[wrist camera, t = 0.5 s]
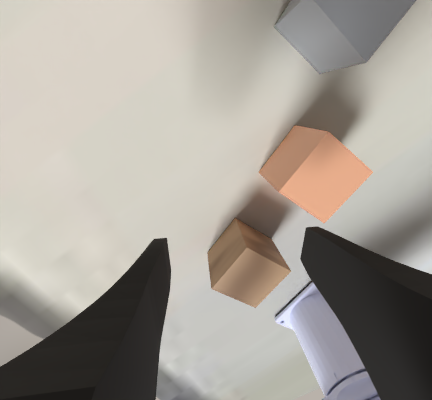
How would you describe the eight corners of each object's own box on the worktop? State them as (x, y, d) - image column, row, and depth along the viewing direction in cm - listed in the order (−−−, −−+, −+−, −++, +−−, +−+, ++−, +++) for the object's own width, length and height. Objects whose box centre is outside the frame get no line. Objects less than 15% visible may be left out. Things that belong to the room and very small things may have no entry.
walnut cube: (271, 238, 23) (291, 271, 18) (243, 269, 24) (255, 307, 20) (234, 217, 21) (246, 247, 17) (207, 252, 23) (211, 288, 18)
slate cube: (367, 9, 15) (440, -30, 11) (319, 73, 17) (366, 62, 12) (322, -50, 14) (386, -124, 9) (273, 27, 15) (308, -6, 11)
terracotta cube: (331, 156, 20) (373, 172, 15) (295, 198, 21) (324, 223, 17) (294, 125, 18) (328, 131, 14) (258, 172, 20) (278, 192, 15)
